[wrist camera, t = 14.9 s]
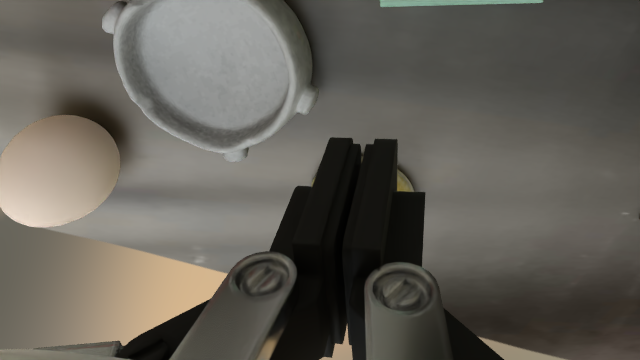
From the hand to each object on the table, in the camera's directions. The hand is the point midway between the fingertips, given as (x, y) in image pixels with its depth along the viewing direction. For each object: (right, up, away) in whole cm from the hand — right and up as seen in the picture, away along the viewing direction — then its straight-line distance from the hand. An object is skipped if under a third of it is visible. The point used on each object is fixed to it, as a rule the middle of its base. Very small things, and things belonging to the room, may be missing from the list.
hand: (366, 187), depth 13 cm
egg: (-22, +4, +34) cm, 41 cm away
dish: (-8, +10, +26) cm, 30 cm away
